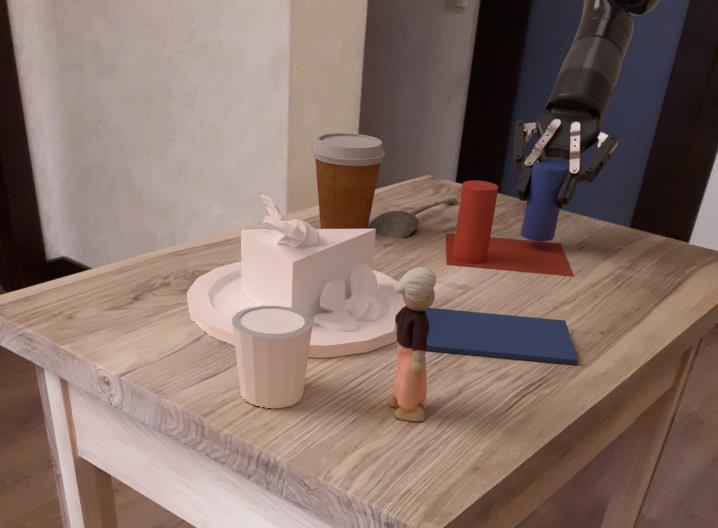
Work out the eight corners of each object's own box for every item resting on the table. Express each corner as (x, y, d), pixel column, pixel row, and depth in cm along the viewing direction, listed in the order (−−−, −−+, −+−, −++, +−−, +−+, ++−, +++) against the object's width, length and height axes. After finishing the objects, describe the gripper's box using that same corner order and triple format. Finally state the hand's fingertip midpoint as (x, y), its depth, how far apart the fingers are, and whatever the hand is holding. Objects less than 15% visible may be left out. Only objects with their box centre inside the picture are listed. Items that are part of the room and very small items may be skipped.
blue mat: (564, 325, 88) (565, 320, 88) (577, 365, 80) (578, 359, 79) (420, 311, 89) (420, 306, 88) (418, 350, 81) (419, 344, 80)
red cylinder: (485, 253, 104) (497, 182, 99) (487, 264, 101) (499, 191, 95) (452, 250, 104) (462, 178, 99) (452, 261, 101) (463, 188, 96)
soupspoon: (359, 239, 110) (399, 252, 107) (361, 214, 108) (402, 227, 105) (435, 200, 125) (472, 211, 122) (438, 178, 122) (476, 189, 120)
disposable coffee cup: (347, 219, 115) (353, 129, 108) (392, 237, 109) (401, 144, 102) (295, 229, 110) (297, 135, 102) (338, 249, 104) (344, 152, 97)
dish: (258, 378, 73) (257, 258, 67) (152, 286, 90) (143, 182, 83) (460, 330, 85) (477, 223, 79) (334, 256, 102) (339, 163, 95)
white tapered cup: (224, 380, 73) (222, 307, 69) (296, 371, 75) (298, 301, 71) (244, 416, 68) (243, 340, 64) (320, 406, 70) (323, 332, 66)
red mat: (560, 247, 110) (561, 243, 110) (573, 281, 100) (574, 276, 99) (444, 237, 111) (445, 232, 110) (445, 269, 100) (446, 264, 100)
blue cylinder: (551, 232, 109) (565, 163, 103) (555, 242, 105) (570, 171, 100) (519, 229, 109) (531, 160, 104) (522, 239, 105) (535, 168, 100)
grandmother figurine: (443, 424, 69) (465, 282, 61) (403, 430, 67) (420, 286, 60) (405, 384, 74) (421, 249, 67) (368, 389, 73) (379, 252, 66)
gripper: (530, 58, 103) (484, 174, 102) (641, 71, 98) (595, 194, 97) (533, 98, 110) (491, 207, 109) (638, 112, 105) (595, 227, 104)
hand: (540, 200), depth 103 cm, fingers closed on blue cylinder, 4 cm apart
